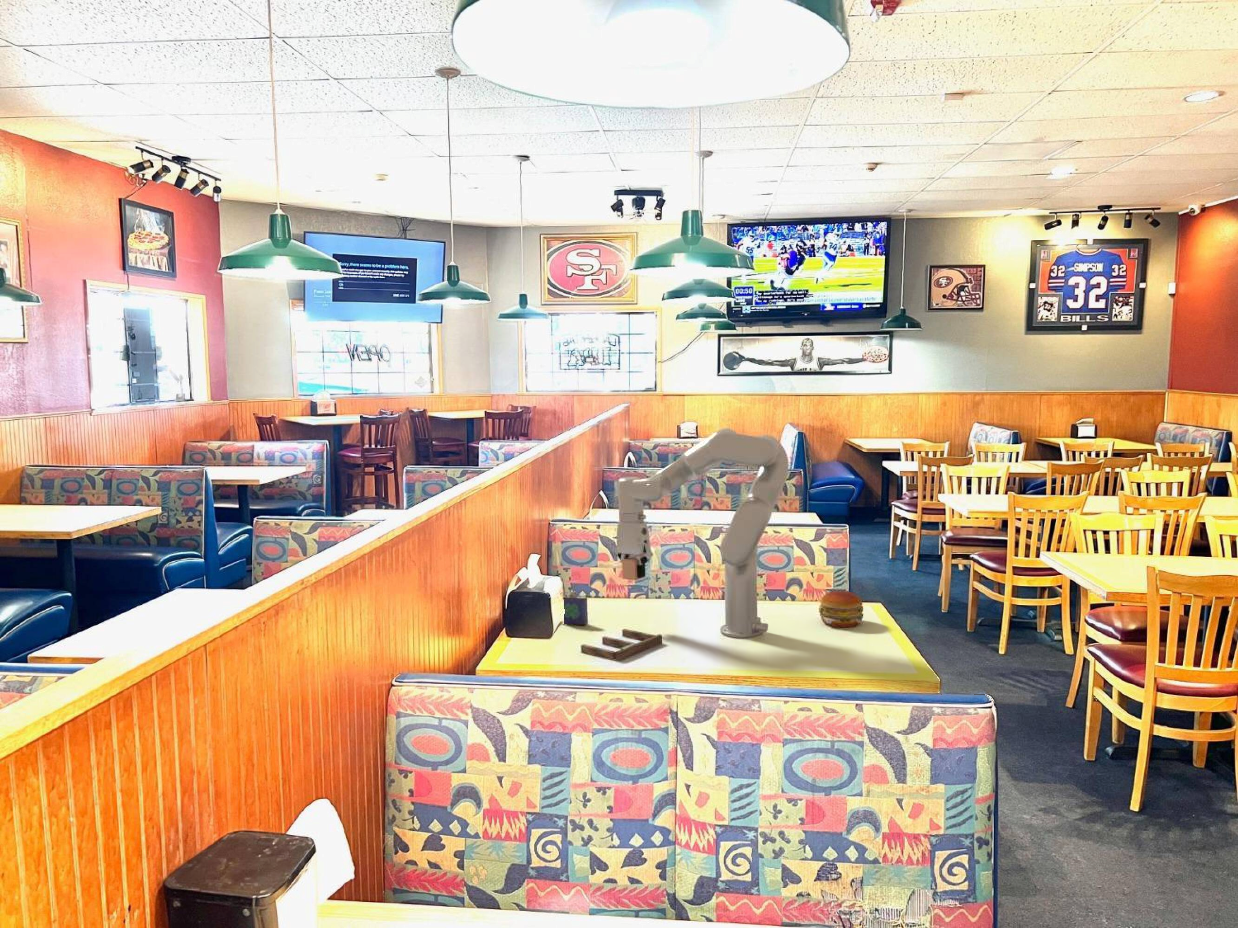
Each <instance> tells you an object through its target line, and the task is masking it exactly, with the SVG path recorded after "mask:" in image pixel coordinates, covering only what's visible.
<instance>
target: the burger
mask: <svg viewBox="0 0 1238 928" xmlns="http://www.w3.org/2000/svg"><path fill="white" fill-rule="evenodd" d="M819 602H820V603H819V604H820V605H819V606H818V613H819V616H820V619H821V621H822V622H823V623H824V624H826V625H828V626H832V627H840V628H848V627H855V626H858V625H860V624H861V623H862V621H863V618H864V613H863V612H864V606H863V600H862V599H861V598H860V596H859V595H857V594H855V593H853V592H851V591H847V590H835V591H829V592H828V593H826V594H824V595H823V596H822V597H821V599H820V601H819Z"/></svg>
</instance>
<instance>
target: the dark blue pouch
mask: <svg viewBox="0 0 1238 928" xmlns="http://www.w3.org/2000/svg"><path fill="white" fill-rule="evenodd" d="M576 593H577V591H575V590H571V591H570V594H568V593H565V594H563V595H564V598H563V599H564V609H565V614H564V624H567V626H580V627H581V626H582V627H583V626H584V627H585V626H586V627H587V626H588V624H589V620H588V614H589V613H588V597H587V596H579V595H578V596H577V595H576ZM564 624H563V625H564Z"/></svg>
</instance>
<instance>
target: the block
mask: <svg viewBox="0 0 1238 928" xmlns="http://www.w3.org/2000/svg"><path fill="white" fill-rule="evenodd" d="M641 559H642V558H641ZM637 565H639V564H638V561H637V557H636V556H634V555H631V556H629V557H628V558H625V559H622V563H621V567H622V568H621V570H622V579H623V580H630V581H638V580H641V579H645V578H646V577H647V576H646V574H645V576H644V577H641V578H638V577H637Z"/></svg>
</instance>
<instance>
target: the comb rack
mask: <svg viewBox="0 0 1238 928" xmlns="http://www.w3.org/2000/svg"><path fill="white" fill-rule="evenodd" d="M621 631H622V637H624V638H628V639H634V640H638V641H639V642H632V641H628V640H623V639H619V638H613V637H609V636H602V637H601V639H602V643H601V644H602V645H605V646H610V647H613V648H619V650H617V651H614V650H610V649H606V648H603V647H596V646H593V645H588V644H581V645H580V652H581V653H584V654H587V655H591V656H595V657H600V658H604V659H608V660H612V661H614V660H615V661H616V662H621V661H623V660H627V659H628V658H630V657H633V656H635V655H638V654H640V653H642V652H645V651H648V650H649V649H652V648H654V647H657V646H659V645H662V644H663V634H651V633H647V632H641V631H636V630H634V629H628V628H623V629H622V630H621Z"/></svg>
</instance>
